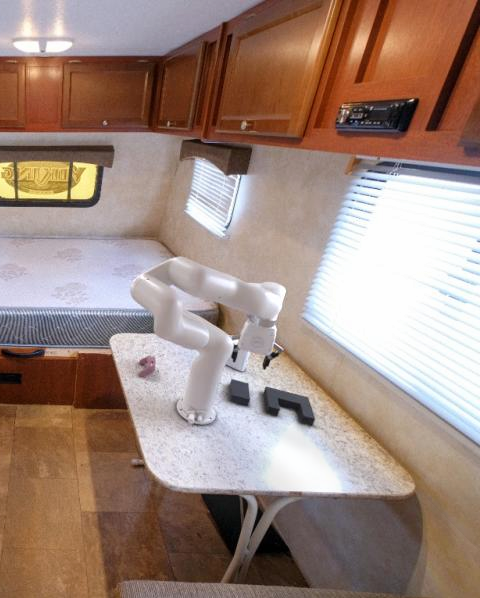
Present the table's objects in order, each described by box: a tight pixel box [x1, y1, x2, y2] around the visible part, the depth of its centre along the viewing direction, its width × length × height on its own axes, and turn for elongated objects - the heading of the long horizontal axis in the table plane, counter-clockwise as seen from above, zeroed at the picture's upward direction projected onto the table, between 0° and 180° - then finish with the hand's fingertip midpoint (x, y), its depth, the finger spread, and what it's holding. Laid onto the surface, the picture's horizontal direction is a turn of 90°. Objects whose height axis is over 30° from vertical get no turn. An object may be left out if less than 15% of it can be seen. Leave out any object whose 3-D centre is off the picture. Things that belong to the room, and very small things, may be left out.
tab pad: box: [229, 378, 251, 407], centre depth 131 cm, size 10×6×3 cm, turn 159°
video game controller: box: [138, 354, 157, 377], centre depth 140 cm, size 10×5×7 cm, turn 171°
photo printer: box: [225, 339, 251, 372], centre depth 147 cm, size 10×4×12 cm, turn 47°
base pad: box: [263, 386, 316, 427], centre depth 126 cm, size 12×14×3 cm
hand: (248, 363), depth 124 cm, fingers open, 9 cm apart
